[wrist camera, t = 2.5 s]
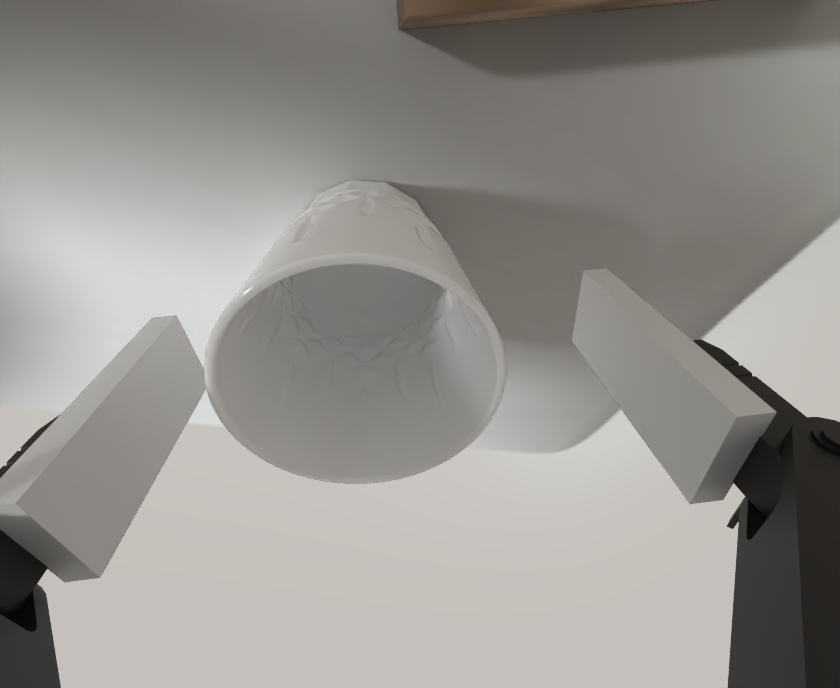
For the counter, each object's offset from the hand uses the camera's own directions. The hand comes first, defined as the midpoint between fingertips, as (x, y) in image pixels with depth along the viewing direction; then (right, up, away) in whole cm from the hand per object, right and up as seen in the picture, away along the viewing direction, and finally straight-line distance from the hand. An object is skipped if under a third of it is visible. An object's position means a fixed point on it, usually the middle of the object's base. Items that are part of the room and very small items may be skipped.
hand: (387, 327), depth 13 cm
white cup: (-1, +4, +6) cm, 7 cm away
